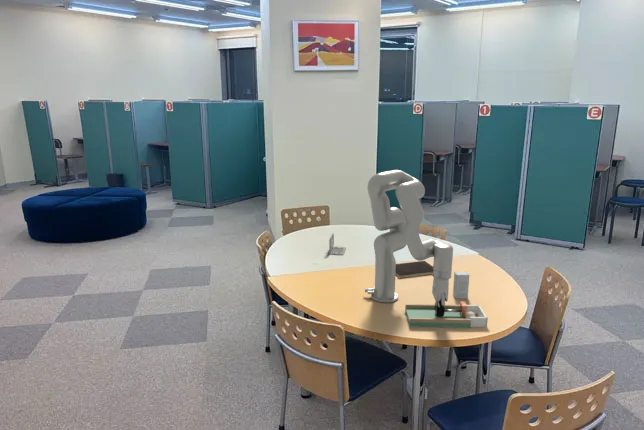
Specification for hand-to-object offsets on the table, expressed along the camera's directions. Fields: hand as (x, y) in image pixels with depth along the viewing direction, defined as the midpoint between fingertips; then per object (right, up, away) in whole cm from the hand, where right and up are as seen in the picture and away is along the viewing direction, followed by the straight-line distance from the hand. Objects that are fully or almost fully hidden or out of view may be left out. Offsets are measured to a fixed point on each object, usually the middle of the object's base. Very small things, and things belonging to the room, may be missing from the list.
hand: (439, 312), depth 198 cm
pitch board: (-1, -3, +1) cm, 3 cm away
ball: (+13, -1, 0) cm, 13 cm away
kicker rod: (+5, -1, 0) cm, 5 cm away
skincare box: (+15, +3, +22) cm, 27 cm away
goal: (+15, -3, 0) cm, 15 cm away
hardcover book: (-1, +11, +55) cm, 56 cm away
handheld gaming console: (-41, +19, +86) cm, 97 cm away
